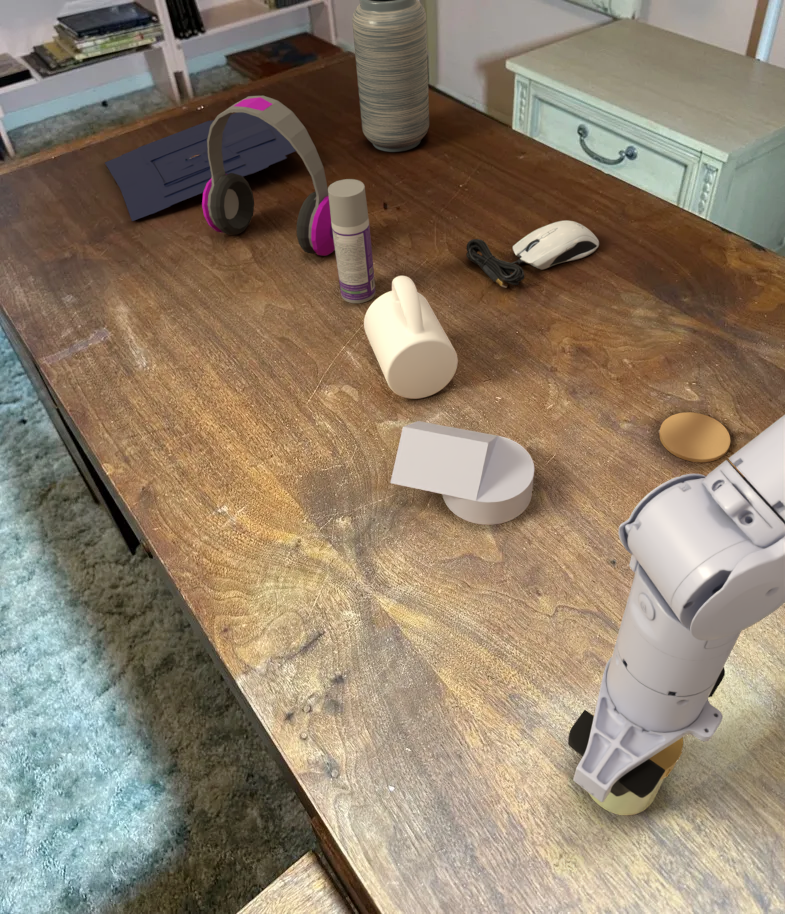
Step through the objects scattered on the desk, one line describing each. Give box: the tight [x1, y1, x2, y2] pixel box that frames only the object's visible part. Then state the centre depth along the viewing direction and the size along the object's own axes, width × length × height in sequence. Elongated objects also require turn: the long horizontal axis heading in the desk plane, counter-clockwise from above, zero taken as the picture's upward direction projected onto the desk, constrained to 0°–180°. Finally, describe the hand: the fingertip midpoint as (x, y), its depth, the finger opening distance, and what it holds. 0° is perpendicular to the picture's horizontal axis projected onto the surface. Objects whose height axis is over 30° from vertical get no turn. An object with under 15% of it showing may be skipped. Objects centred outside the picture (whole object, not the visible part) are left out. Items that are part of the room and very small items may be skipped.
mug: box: [363, 275, 459, 400], centre depth 86 cm, size 8×10×12 cm
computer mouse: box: [465, 220, 600, 289], centre depth 104 cm, size 10×18×4 cm, turn 118°
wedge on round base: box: [389, 420, 535, 526], centre depth 75 cm, size 9×7×13 cm
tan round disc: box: [658, 411, 731, 463], centre depth 80 cm, size 7×7×1 cm
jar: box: [588, 777, 666, 816], centre depth 54 cm, size 5×5×7 cm
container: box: [327, 178, 377, 304], centre depth 97 cm, size 5×5×15 cm
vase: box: [351, 0, 430, 153], centre depth 126 cm, size 12×12×23 cm
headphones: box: [201, 95, 335, 257], centre depth 106 cm, size 21×9×20 cm, turn 63°
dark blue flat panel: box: [104, 112, 297, 222], centre depth 130 cm, size 24×30×4 cm
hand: (630, 749), depth 53 cm, fingers closed on lid, 5 cm apart
